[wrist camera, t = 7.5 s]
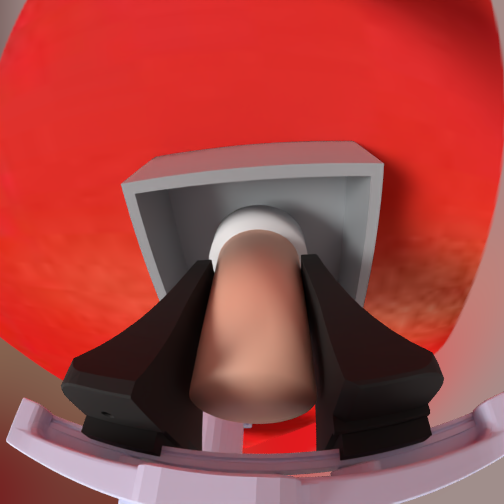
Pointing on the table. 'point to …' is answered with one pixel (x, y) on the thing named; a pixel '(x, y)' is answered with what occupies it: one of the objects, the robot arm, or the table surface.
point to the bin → (259, 193)
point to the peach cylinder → (255, 322)
